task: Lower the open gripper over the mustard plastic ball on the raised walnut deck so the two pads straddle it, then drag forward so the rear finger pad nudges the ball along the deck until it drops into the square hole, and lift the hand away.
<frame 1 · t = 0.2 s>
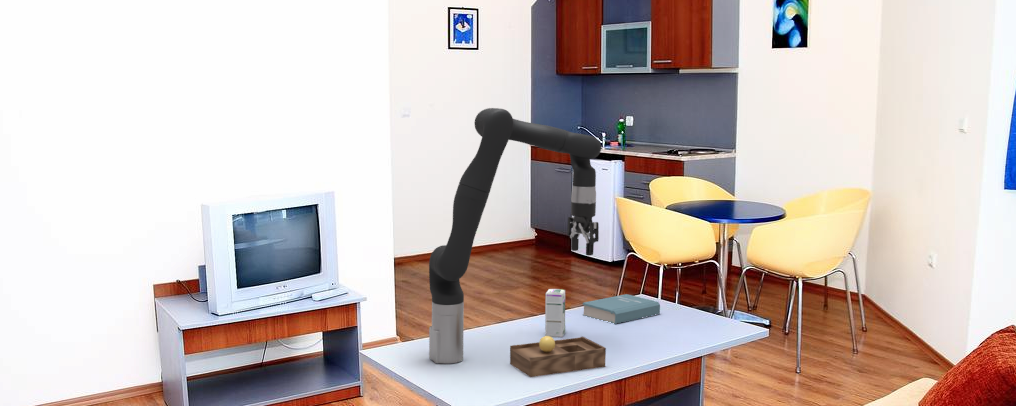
hand: (582, 252, 275), 29 cm above the table, fingers open, 8 cm apart
syrup box: (554, 335, 289), on the table
book: (621, 316, 316), on the table
deck: (557, 365, 256), on the table
ball: (547, 344, 254), point 7 cm above the table, touching deck
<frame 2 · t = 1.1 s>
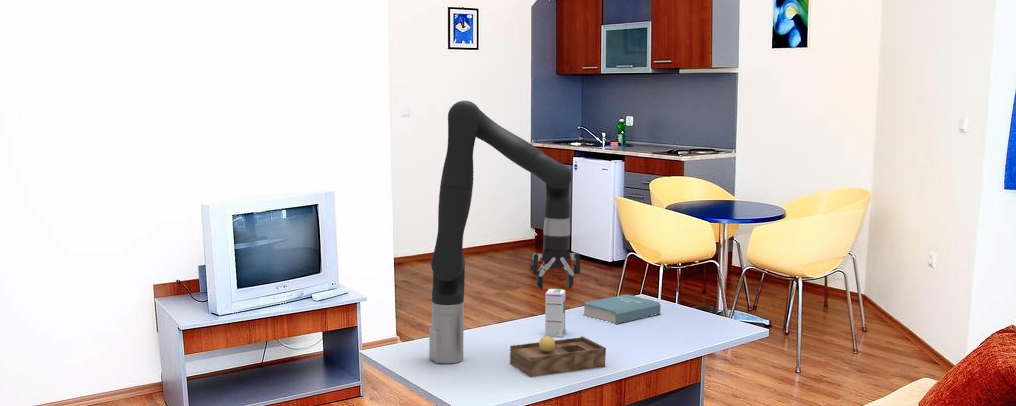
hand: (554, 288, 258), 22 cm above the table, fingers open, 8 cm apart
nothing on the table moved.
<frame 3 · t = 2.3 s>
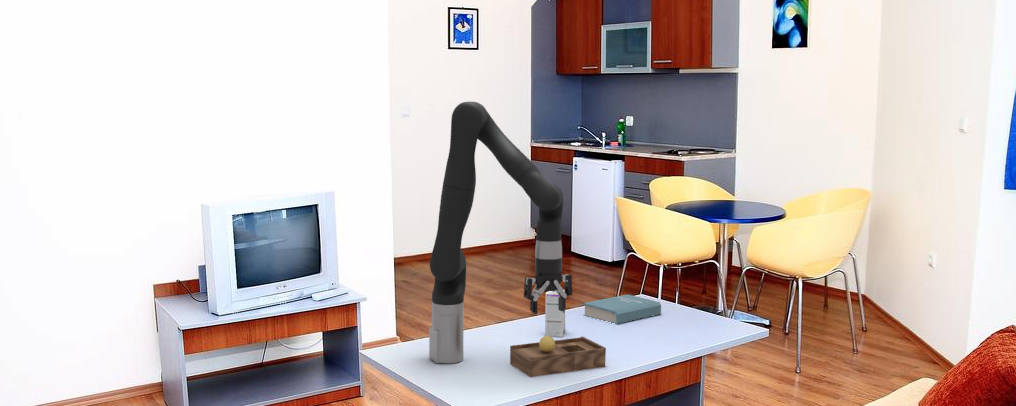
hand: (548, 312, 253), 16 cm above the table, fingers open, 8 cm apart
nothing on the table moved.
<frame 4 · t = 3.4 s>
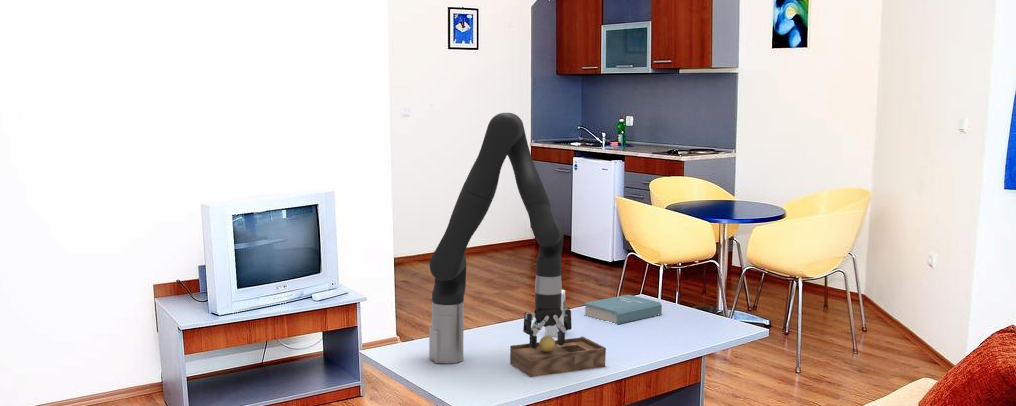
hand: (547, 346, 254), 6 cm above the table, fingers open, 8 cm apart
nothing on the table moved.
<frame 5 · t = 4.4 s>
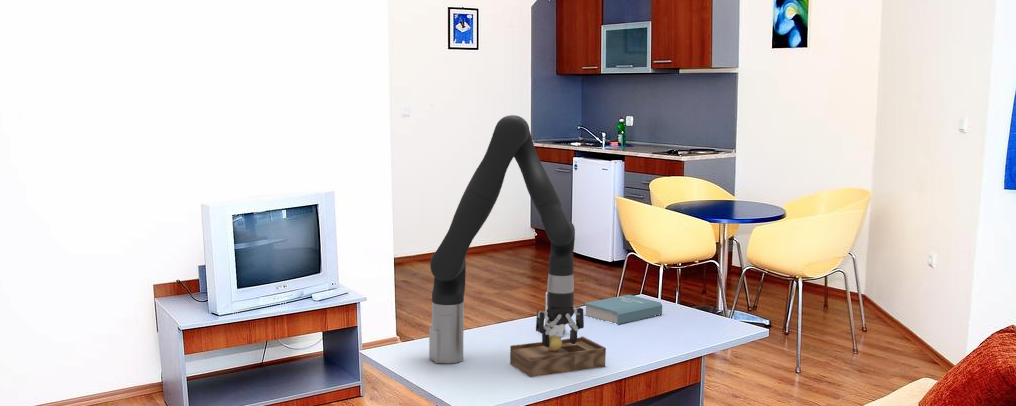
hand: (559, 344, 255), 6 cm above the table, fingers open, 8 cm apart
ball: (554, 343, 255), point 7 cm above the table, tilted 38°, touching gripper
everything else where it was.
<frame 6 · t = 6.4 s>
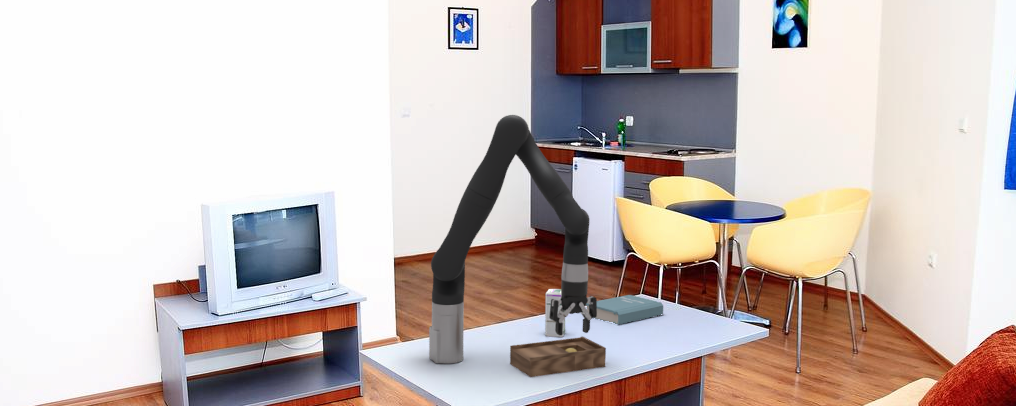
hand: (572, 333, 257), 9 cm above the table, fingers open, 8 cm apart
ball: (570, 355, 258), point 2 cm above the table, tilted 170°
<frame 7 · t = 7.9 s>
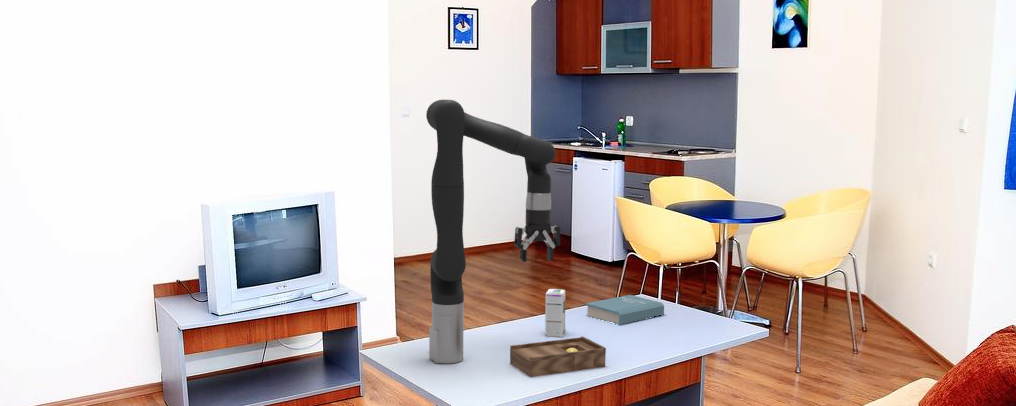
hand: (536, 260, 268), 27 cm above the table, fingers open, 8 cm apart
ball: (572, 355, 258), point 2 cm above the table, tilted 161°
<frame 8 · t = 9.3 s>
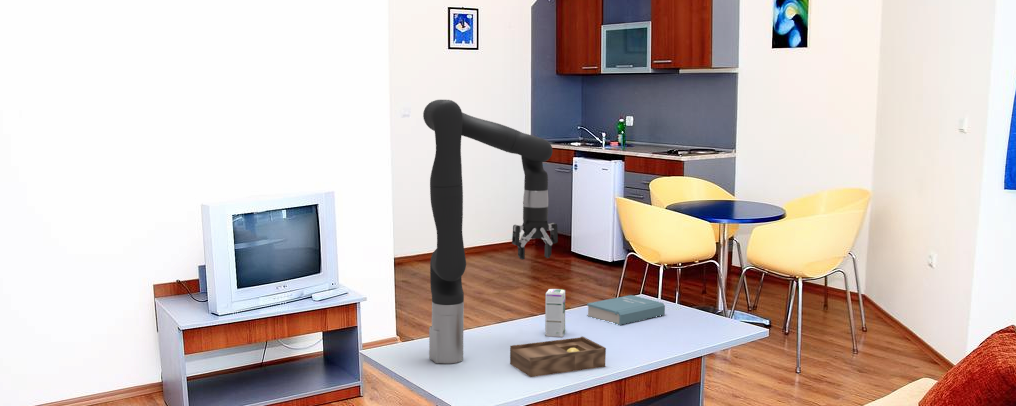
hand: (534, 258, 269), 28 cm above the table, fingers open, 8 cm apart
ball: (573, 355, 258), point 2 cm above the table, tilted 153°
at the end: ball 0.0 cm from the target spot on the deck, point 2.3 cm above the deck's base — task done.
